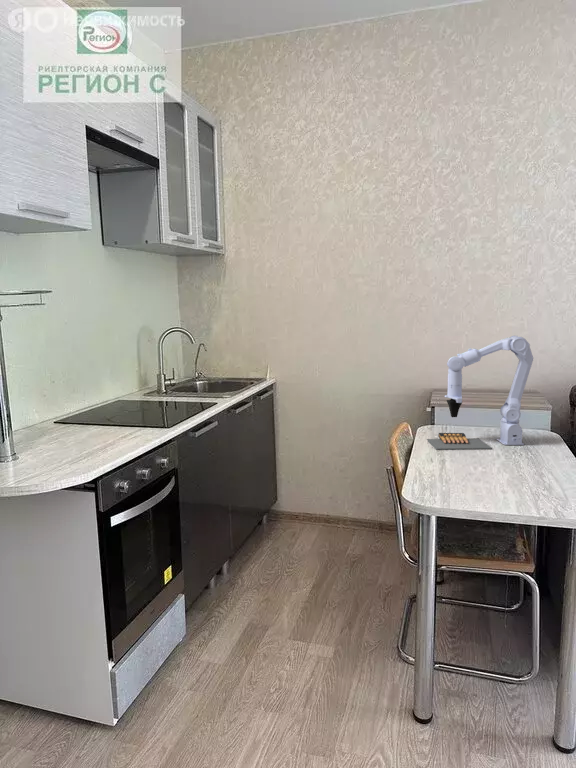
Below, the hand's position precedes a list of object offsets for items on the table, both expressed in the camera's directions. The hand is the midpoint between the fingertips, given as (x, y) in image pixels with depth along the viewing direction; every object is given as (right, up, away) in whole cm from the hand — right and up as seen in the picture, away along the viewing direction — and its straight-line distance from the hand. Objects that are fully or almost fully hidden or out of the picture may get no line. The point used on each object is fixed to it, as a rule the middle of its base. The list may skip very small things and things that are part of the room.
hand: (454, 416), depth 227 cm
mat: (0, -11, -6) cm, 12 cm away
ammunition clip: (0, -8, +4) cm, 9 cm away
